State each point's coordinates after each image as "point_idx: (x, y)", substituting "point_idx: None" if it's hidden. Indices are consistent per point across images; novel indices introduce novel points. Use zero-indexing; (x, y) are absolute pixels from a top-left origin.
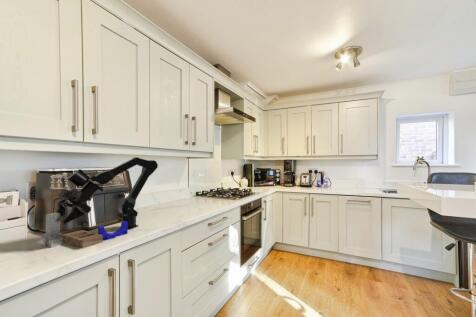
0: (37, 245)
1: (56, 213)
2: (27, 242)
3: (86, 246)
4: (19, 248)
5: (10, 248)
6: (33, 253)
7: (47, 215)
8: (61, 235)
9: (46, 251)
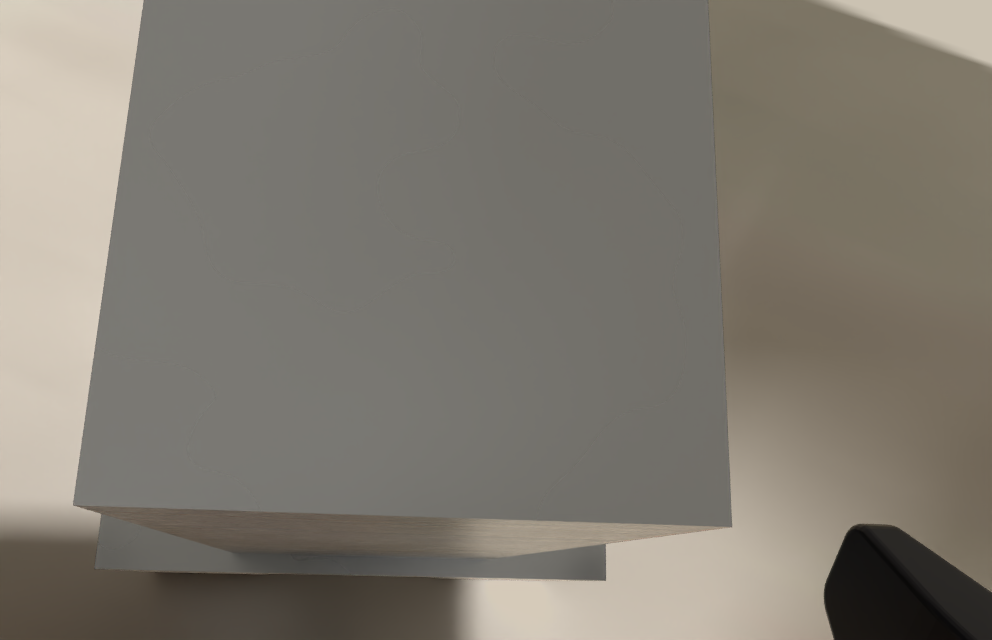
0: None
1: (340, 356)
2: (942, 318)
3: None
4: None
5: (808, 57)
6: None
7: (543, 8)
8: (108, 537)
9: (32, 207)
